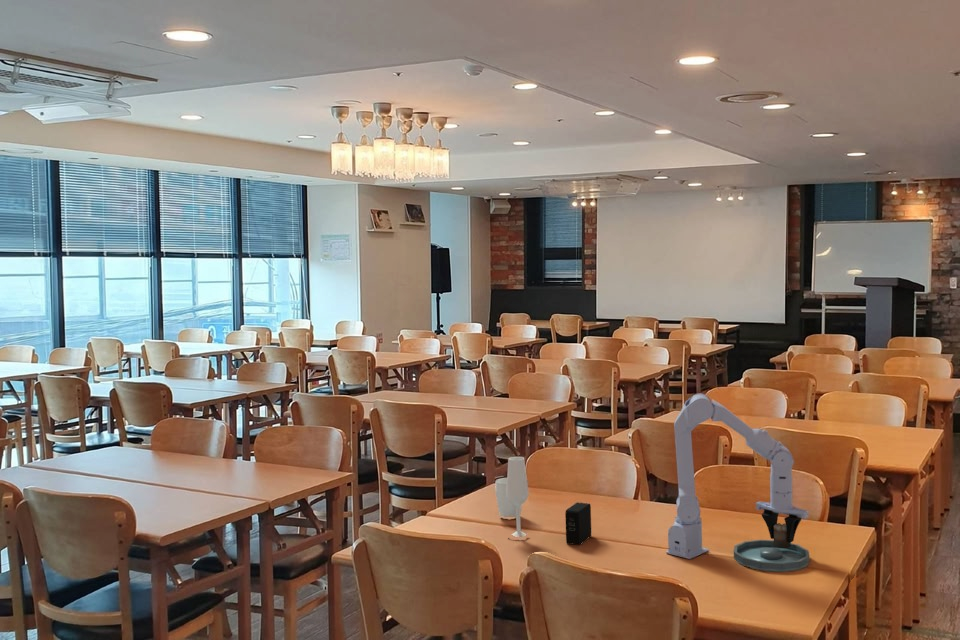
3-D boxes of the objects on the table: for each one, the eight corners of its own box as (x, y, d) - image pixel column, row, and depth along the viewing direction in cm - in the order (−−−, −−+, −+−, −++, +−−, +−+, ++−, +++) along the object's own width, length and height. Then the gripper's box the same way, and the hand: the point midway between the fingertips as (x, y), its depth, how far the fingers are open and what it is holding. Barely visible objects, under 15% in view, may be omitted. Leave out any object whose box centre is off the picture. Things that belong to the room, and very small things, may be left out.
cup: (491, 516, 293) (490, 479, 293) (516, 511, 297) (515, 476, 296) (503, 523, 285) (502, 485, 284) (529, 518, 289) (527, 481, 288)
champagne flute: (534, 538, 269) (532, 458, 267) (515, 542, 265) (513, 462, 264) (521, 532, 275) (519, 454, 273) (503, 536, 271) (500, 458, 269)
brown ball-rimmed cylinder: (785, 549, 244) (785, 528, 243) (770, 545, 247) (770, 524, 247) (793, 545, 247) (793, 524, 246) (779, 541, 250) (778, 521, 250)
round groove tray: (786, 577, 229) (785, 568, 229) (720, 560, 244) (720, 552, 243) (822, 558, 242) (822, 550, 242) (757, 543, 257) (757, 535, 256)
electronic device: (565, 544, 262) (564, 510, 262) (578, 534, 271) (577, 501, 270) (579, 545, 260) (578, 511, 260) (591, 535, 269) (590, 502, 268)
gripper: (813, 492, 243) (814, 541, 244) (764, 483, 254) (765, 531, 255) (800, 497, 238) (801, 548, 239) (751, 488, 249) (752, 536, 250)
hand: (782, 539), depth 247 cm, fingers closed on brown ball-rimmed cylinder, 4 cm apart
